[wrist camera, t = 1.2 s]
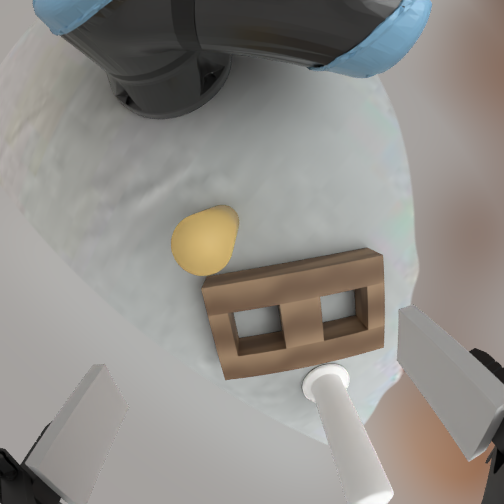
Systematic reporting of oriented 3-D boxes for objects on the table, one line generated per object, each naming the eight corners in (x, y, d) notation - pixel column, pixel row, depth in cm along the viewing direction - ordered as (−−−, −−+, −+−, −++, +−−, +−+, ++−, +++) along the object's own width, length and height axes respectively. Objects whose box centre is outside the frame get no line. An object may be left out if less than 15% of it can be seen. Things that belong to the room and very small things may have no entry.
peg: (201, 208, 32) (165, 220, 17) (235, 202, 32) (226, 207, 17) (208, 242, 33) (178, 280, 18) (242, 236, 33) (238, 270, 18)
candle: (318, 406, 38) (360, 544, 14) (292, 382, 37) (328, 539, 13) (356, 381, 37) (424, 512, 13) (333, 354, 36) (406, 504, 12)
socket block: (206, 276, 34) (201, 288, 29) (367, 247, 33) (383, 255, 29) (227, 360, 36) (225, 380, 32) (370, 331, 36) (383, 347, 31)
